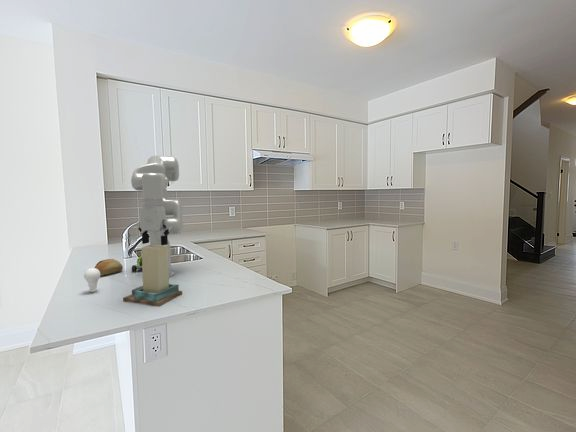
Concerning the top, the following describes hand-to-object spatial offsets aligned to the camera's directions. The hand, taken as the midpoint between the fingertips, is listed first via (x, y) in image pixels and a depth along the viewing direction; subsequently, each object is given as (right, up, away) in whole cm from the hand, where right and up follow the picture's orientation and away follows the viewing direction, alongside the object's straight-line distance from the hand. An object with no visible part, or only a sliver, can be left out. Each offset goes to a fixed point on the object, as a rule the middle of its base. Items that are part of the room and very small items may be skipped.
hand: (155, 244), depth 122 cm
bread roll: (-43, -20, +38) cm, 61 cm away
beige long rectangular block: (0, -22, +2) cm, 22 cm away
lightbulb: (-32, -23, +9) cm, 40 cm away
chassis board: (-2, -23, +2) cm, 23 cm away
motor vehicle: (-28, -20, +50) cm, 60 cm away
